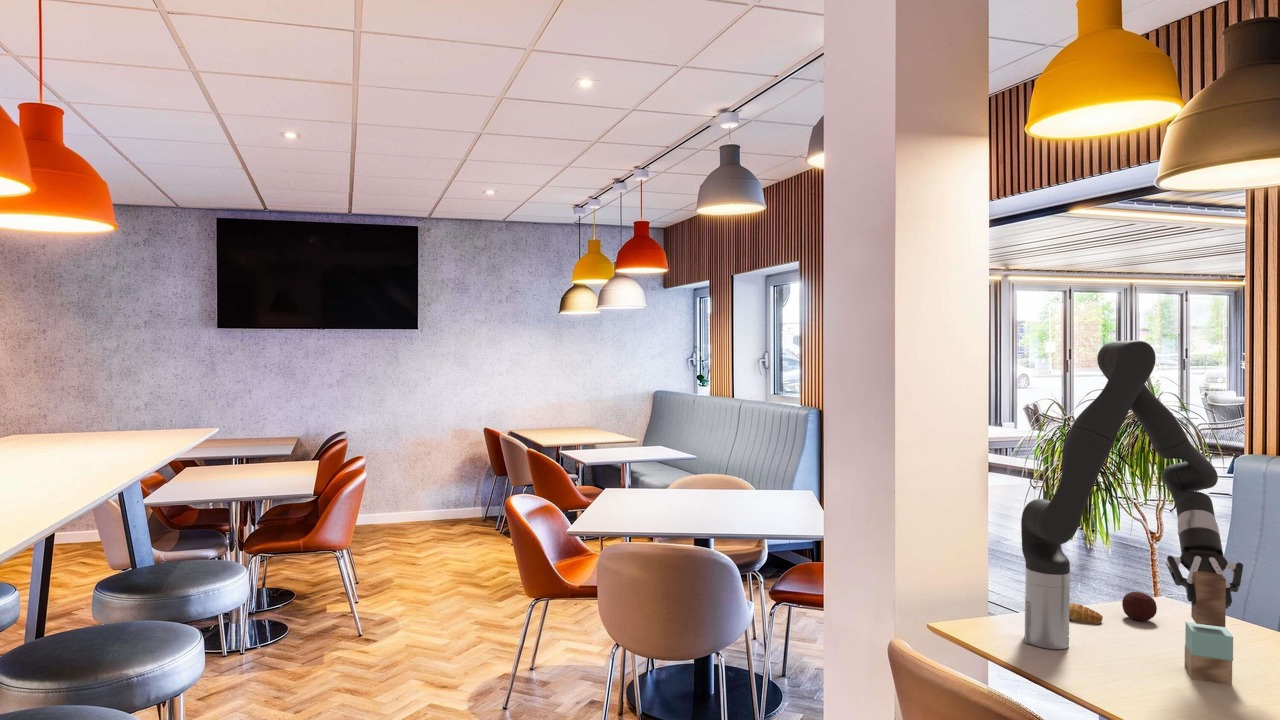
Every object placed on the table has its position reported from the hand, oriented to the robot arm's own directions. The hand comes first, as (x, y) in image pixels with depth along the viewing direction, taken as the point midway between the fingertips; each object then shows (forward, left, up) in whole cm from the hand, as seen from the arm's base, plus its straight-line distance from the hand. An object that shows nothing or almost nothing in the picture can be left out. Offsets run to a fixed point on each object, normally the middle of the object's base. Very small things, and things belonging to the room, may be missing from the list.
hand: (1210, 604), depth 163 cm
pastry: (-22, +32, -16) cm, 42 cm away
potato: (-8, +38, -16) cm, 42 cm away
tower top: (0, +2, -11) cm, 11 cm away
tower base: (0, +2, -16) cm, 16 cm away
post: (0, +2, -4) cm, 5 cm away
